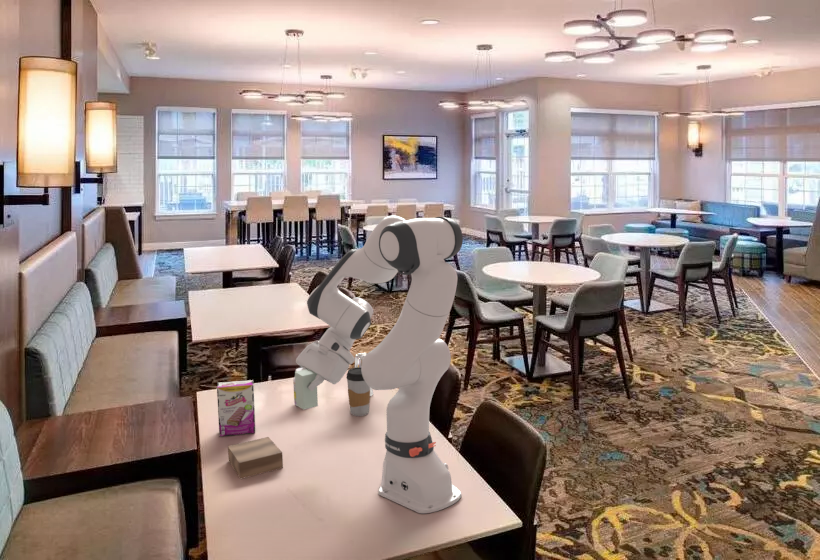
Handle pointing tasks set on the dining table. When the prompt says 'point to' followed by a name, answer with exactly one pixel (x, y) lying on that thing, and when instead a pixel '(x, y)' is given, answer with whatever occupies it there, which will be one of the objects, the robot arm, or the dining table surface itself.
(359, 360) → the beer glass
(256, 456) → the walnut block
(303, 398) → the sage pillar
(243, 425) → the candy bar box
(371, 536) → the dining table surface
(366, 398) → the coffee cup
